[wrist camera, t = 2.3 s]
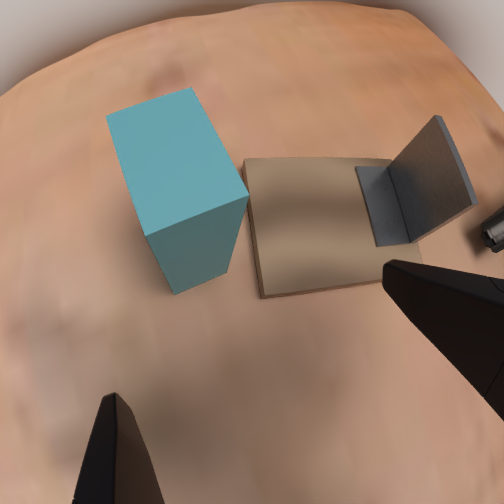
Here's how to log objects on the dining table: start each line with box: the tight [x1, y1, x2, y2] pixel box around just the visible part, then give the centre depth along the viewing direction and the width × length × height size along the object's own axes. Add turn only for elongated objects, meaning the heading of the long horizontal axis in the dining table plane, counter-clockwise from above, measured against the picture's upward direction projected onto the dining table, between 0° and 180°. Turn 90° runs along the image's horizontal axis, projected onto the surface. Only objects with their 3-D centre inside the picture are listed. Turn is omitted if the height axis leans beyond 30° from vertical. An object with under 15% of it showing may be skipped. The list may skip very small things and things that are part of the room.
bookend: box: [355, 115, 478, 247], centre depth 21 cm, size 7×4×8 cm, turn 8°
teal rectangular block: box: [106, 87, 249, 295], centre depth 18 cm, size 6×4×12 cm, turn 26°
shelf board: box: [242, 157, 423, 299], centre depth 25 cm, size 10×14×2 cm
